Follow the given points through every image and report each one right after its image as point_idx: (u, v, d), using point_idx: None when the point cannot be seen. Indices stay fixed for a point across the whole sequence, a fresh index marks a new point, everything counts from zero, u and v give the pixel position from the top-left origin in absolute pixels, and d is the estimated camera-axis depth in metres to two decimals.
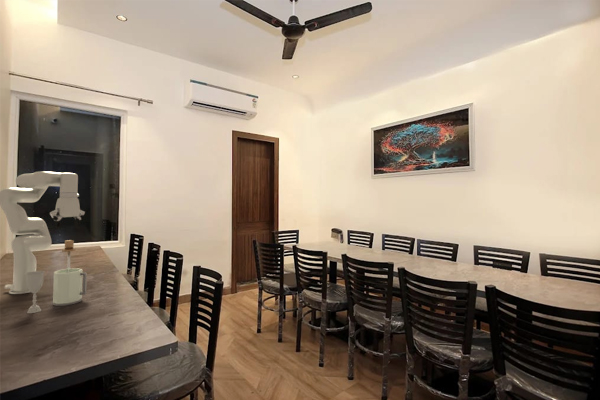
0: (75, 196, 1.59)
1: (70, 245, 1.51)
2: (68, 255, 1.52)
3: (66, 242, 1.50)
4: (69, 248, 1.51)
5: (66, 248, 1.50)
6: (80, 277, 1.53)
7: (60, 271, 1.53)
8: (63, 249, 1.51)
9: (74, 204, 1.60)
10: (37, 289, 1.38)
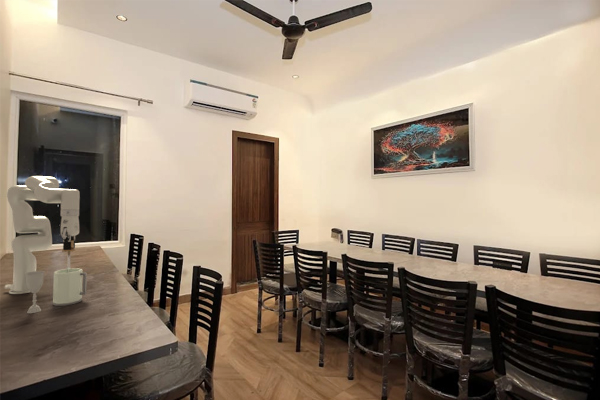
0: None
1: None
2: (68, 255, 1.52)
3: None
4: None
5: None
6: (80, 277, 1.53)
7: (60, 271, 1.53)
8: None
9: None
10: (37, 289, 1.38)
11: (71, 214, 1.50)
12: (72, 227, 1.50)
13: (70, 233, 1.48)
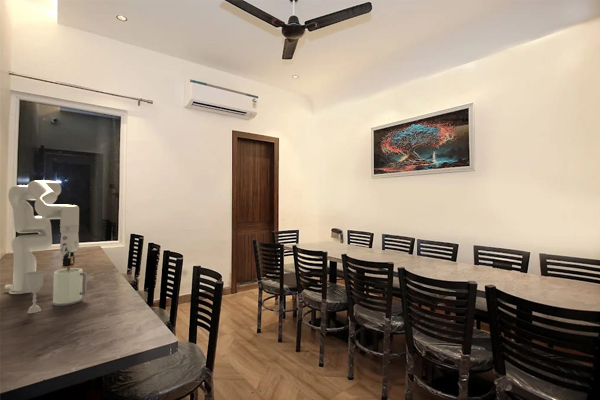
0: (60, 230, 1.50)
1: None
2: (68, 271, 1.52)
3: None
4: None
5: None
6: (80, 277, 1.53)
7: (60, 271, 1.53)
8: None
9: None
10: (37, 289, 1.38)
11: (71, 230, 1.50)
12: (72, 243, 1.50)
13: (70, 249, 1.48)
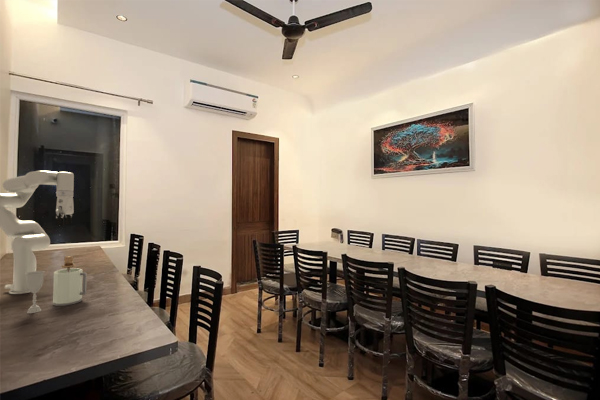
0: (56, 194, 1.64)
1: (70, 261, 1.51)
2: (68, 271, 1.52)
3: (65, 258, 1.50)
4: (69, 264, 1.51)
5: (66, 264, 1.50)
6: (80, 277, 1.53)
7: (60, 271, 1.53)
8: (63, 265, 1.51)
9: None
10: (37, 289, 1.38)
11: (66, 194, 1.64)
12: (67, 206, 1.64)
13: (65, 212, 1.62)
